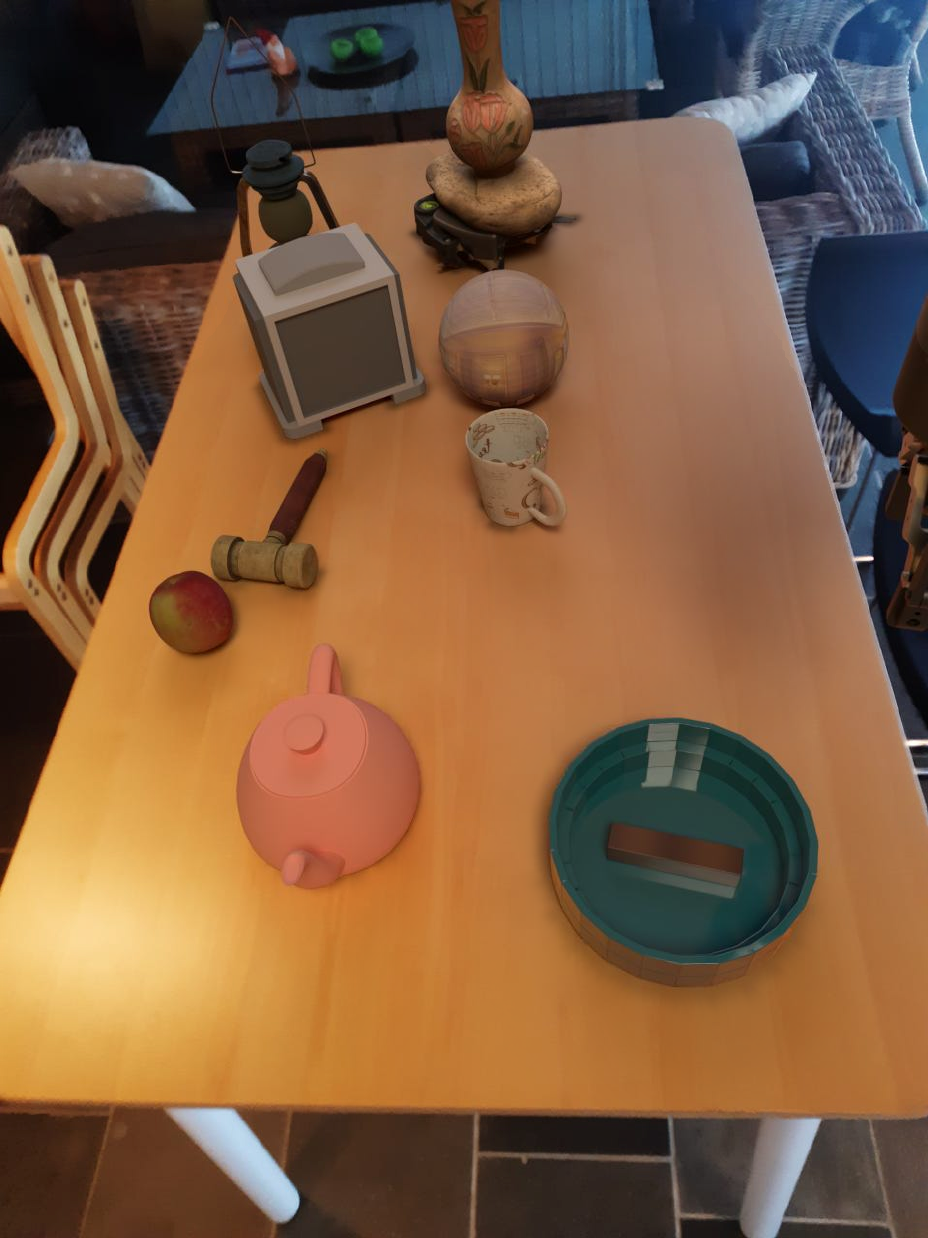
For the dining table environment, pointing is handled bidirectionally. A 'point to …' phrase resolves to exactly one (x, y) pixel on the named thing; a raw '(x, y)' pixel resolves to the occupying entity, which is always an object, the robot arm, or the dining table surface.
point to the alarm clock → (327, 327)
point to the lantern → (277, 186)
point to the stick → (675, 854)
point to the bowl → (690, 807)
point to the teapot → (326, 782)
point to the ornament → (503, 338)
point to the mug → (512, 466)
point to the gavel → (275, 539)
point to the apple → (191, 612)
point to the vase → (486, 157)
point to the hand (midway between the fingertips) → (903, 567)
